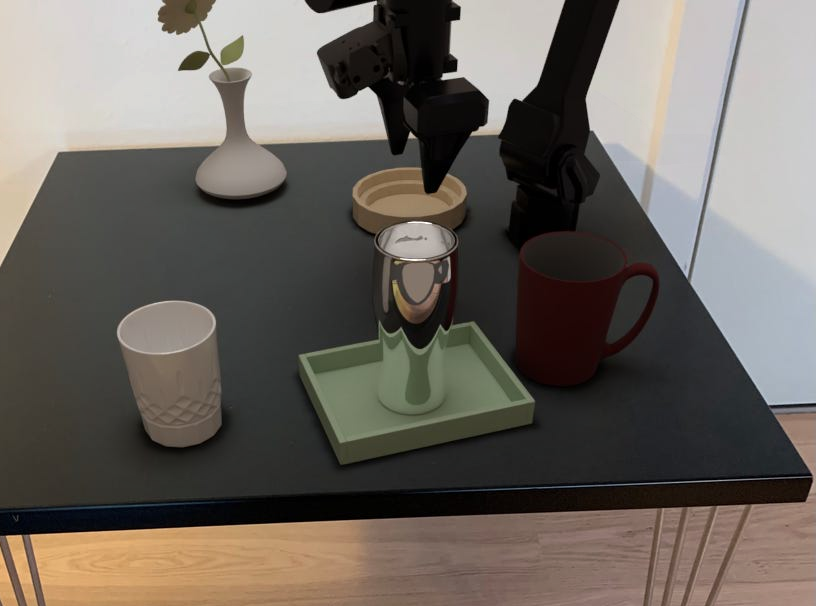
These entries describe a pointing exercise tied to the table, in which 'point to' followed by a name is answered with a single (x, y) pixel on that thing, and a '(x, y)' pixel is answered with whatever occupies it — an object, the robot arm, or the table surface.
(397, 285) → the polished metal tumbler
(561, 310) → the mug
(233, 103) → the flower in vase
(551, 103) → the robot arm
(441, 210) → the round tan dish
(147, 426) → the white cup
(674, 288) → the table surface
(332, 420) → the tray
